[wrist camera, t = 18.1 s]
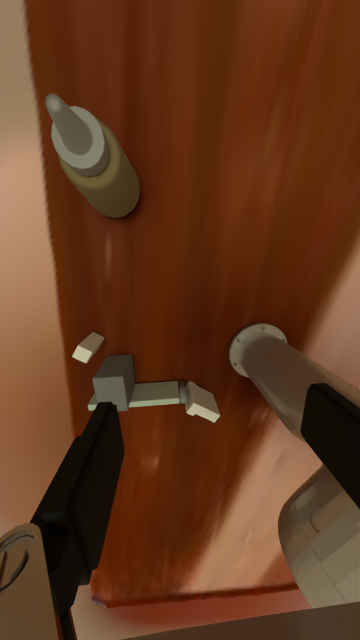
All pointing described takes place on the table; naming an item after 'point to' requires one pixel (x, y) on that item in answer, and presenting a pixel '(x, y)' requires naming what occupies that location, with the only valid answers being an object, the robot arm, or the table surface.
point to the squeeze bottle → (93, 159)
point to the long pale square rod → (153, 394)
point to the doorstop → (115, 381)
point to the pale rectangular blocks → (196, 396)
